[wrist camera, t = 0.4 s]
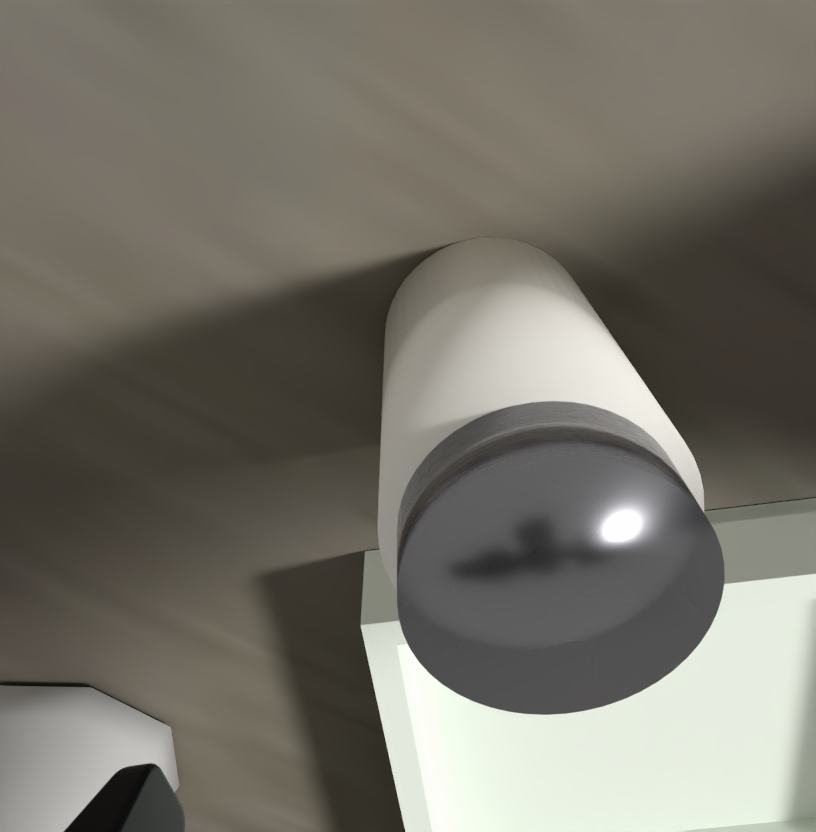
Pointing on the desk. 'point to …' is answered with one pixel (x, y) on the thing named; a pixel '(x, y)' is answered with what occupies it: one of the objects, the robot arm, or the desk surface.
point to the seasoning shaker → (533, 491)
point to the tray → (629, 715)
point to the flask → (69, 752)
